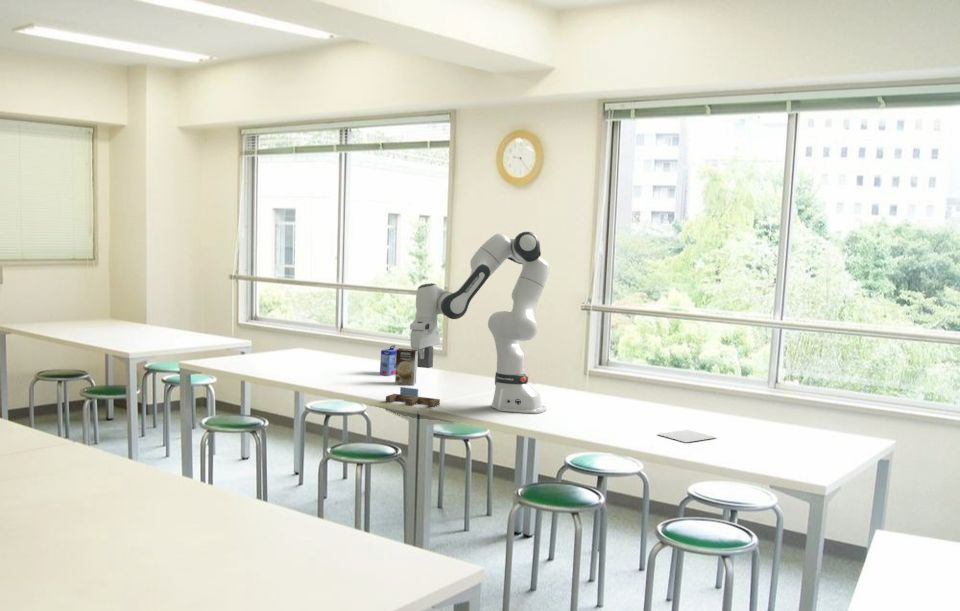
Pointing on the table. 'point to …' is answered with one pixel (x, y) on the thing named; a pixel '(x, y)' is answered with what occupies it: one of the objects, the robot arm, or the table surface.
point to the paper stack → (686, 435)
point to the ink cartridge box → (388, 361)
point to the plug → (426, 358)
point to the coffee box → (406, 366)
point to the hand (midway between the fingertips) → (425, 357)
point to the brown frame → (411, 397)
